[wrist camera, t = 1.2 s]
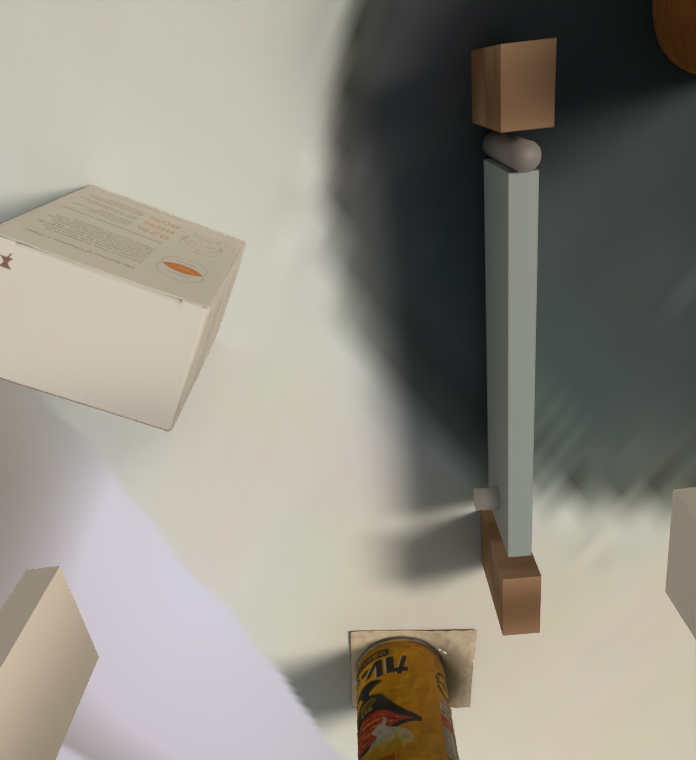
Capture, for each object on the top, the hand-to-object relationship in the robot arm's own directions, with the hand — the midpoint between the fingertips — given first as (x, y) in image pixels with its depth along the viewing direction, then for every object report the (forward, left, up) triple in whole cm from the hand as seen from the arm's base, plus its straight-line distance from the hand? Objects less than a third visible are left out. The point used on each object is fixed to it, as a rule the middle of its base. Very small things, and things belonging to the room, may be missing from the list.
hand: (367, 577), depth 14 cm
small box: (-2, -10, -22) cm, 24 cm away
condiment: (+28, +1, -22) cm, 35 cm away
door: (+3, +7, -21) cm, 22 cm away
